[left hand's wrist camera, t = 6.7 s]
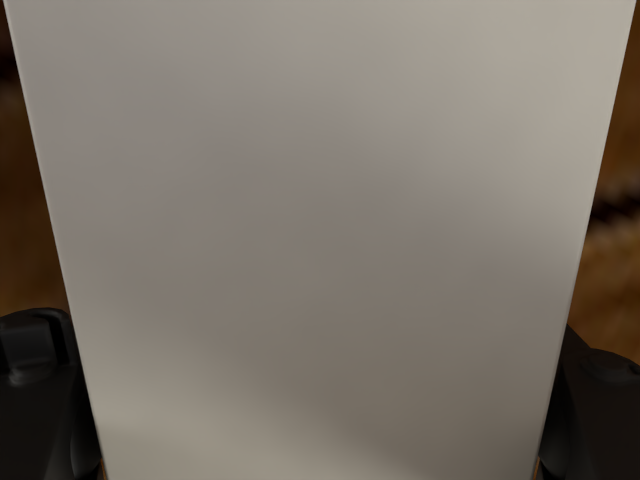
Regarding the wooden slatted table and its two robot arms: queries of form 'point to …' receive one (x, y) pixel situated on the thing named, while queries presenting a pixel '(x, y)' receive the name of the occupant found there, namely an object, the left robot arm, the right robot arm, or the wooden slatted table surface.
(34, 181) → the wooden slatted table surface
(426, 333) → the post
